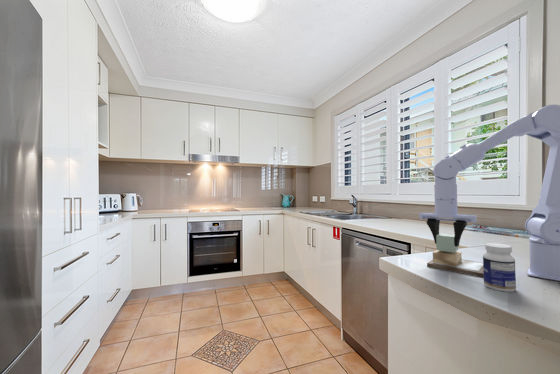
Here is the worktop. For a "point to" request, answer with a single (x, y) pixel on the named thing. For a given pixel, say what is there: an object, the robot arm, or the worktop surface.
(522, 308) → the worktop surface
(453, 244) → the sage block
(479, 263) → the board
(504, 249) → the pill bottle
